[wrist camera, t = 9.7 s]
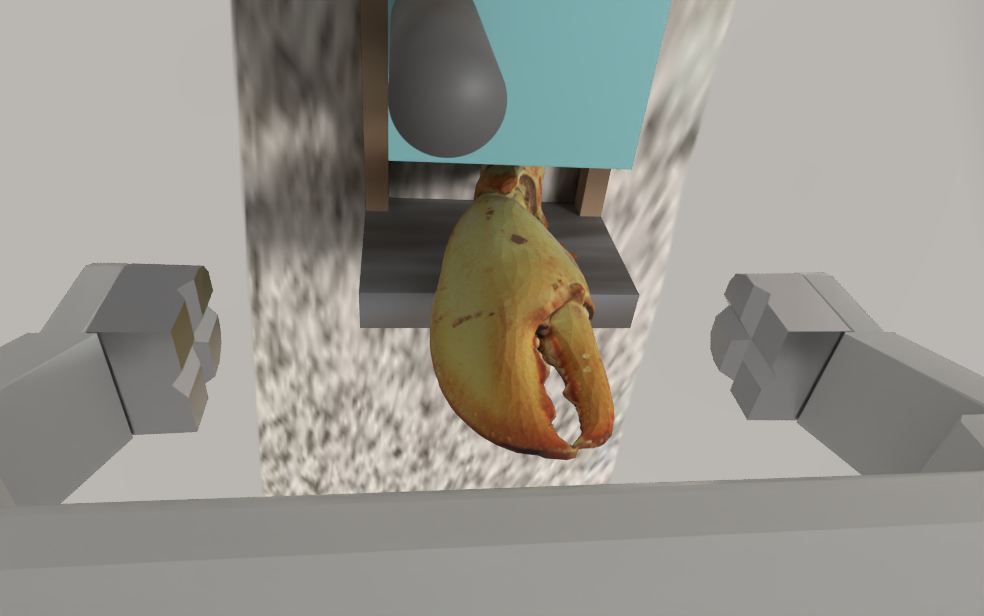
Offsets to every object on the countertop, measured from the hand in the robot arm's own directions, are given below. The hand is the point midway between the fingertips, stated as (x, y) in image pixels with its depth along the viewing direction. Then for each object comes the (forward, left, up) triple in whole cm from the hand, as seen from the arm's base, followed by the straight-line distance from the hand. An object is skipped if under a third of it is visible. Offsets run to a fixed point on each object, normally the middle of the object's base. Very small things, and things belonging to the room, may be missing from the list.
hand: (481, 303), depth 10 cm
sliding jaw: (+2, +4, -23) cm, 23 cm away
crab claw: (+8, +4, -25) cm, 27 cm away
